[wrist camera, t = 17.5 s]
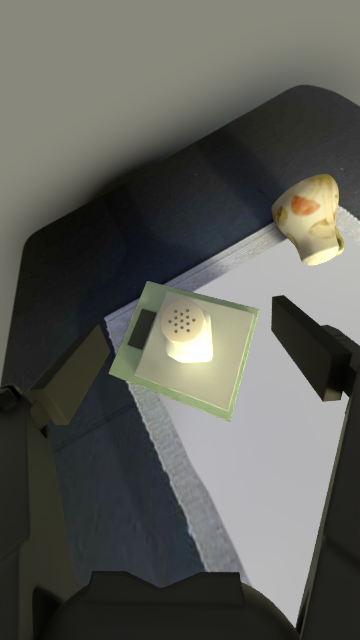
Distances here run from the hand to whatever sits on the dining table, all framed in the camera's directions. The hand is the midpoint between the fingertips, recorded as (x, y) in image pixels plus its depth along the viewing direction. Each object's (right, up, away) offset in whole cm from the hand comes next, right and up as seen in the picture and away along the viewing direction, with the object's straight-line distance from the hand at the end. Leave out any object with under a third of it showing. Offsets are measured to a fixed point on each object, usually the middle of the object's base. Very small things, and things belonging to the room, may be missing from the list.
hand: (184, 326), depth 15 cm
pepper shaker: (+1, -2, +8) cm, 8 cm away
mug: (+17, +12, +13) cm, 24 cm away
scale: (0, -3, +11) cm, 11 cm away
